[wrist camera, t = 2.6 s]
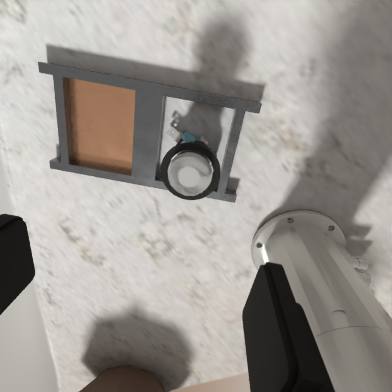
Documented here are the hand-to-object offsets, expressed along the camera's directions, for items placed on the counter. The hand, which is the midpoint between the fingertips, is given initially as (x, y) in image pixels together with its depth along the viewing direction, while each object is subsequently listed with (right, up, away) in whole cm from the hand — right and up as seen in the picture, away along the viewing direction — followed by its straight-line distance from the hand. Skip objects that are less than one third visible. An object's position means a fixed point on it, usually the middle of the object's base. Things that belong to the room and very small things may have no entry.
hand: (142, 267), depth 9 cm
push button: (+2, +9, +19) cm, 22 cm away
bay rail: (-4, +10, +19) cm, 22 cm away
